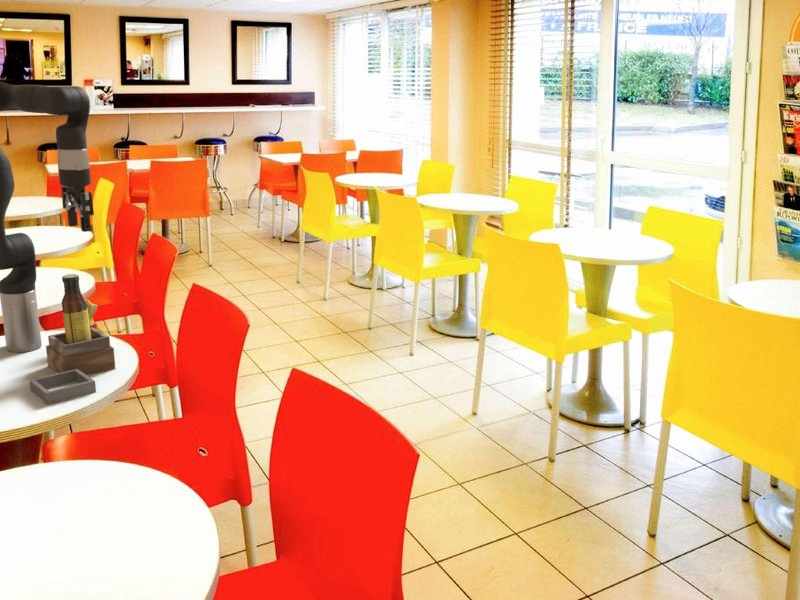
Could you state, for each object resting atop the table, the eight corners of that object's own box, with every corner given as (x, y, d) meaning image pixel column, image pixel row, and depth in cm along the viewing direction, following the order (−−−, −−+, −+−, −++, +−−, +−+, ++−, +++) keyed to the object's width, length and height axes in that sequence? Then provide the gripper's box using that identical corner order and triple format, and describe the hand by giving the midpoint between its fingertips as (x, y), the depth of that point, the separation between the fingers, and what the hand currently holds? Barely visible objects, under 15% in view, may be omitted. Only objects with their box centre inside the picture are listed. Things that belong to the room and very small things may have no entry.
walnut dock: (48, 366, 209) (44, 335, 207) (95, 355, 218) (92, 325, 216) (67, 380, 201) (63, 348, 198) (115, 368, 209) (112, 337, 207)
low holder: (30, 391, 194) (29, 380, 193) (78, 379, 202) (77, 368, 201) (47, 404, 186) (46, 393, 185) (96, 392, 194) (95, 381, 193)
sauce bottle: (96, 343, 211) (89, 273, 205) (85, 351, 205) (78, 279, 199) (73, 342, 211) (66, 272, 205) (61, 349, 205) (54, 277, 199)
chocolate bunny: (70, 347, 224) (65, 298, 220) (110, 345, 227) (105, 296, 223) (66, 355, 218) (61, 305, 214) (107, 353, 221) (103, 303, 216)
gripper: (48, 164, 200) (54, 226, 205) (70, 170, 190) (76, 234, 195) (77, 162, 205) (83, 222, 210) (99, 168, 195) (105, 231, 200)
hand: (79, 228), depth 202 cm, fingers open, 8 cm apart
